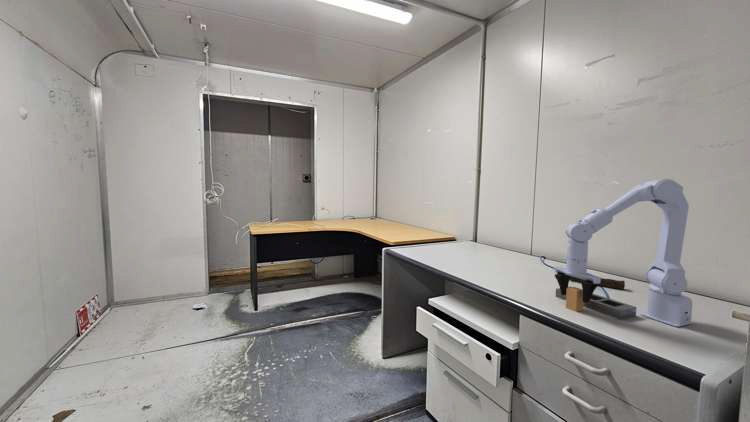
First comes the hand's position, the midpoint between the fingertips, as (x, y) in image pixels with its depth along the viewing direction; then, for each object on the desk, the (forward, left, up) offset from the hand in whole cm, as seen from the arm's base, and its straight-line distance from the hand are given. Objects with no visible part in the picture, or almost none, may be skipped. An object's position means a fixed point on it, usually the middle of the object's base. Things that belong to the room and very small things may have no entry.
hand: (574, 298), depth 102 cm
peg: (0, 0, -4) cm, 4 cm away
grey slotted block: (0, -9, -4) cm, 10 cm away
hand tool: (+15, -34, -4) cm, 37 cm away
